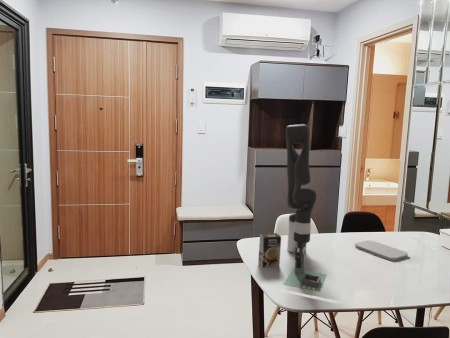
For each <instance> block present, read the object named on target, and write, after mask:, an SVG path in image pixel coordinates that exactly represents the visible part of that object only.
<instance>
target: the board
mask: <svg viewBox="0 0 450 338" xmlns="http://www.w3.org/2000/svg"><path fill="white" fill-rule="evenodd" d="M327 276H328V275H327V274H326V273H321V272H315V271H311V270H306V269H305V272H304V274H303V275H300V274H295V267H293V268H292V269H291V270H290V273H289V275H288V276H286V278H285V280H284V282H283V283H282V285H284V286H289V287H293V288H299V289H304V290H307V291H312V292H317V293H321V292H322V289H323V286H324V283H325V280H326V278H327Z"/></svg>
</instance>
